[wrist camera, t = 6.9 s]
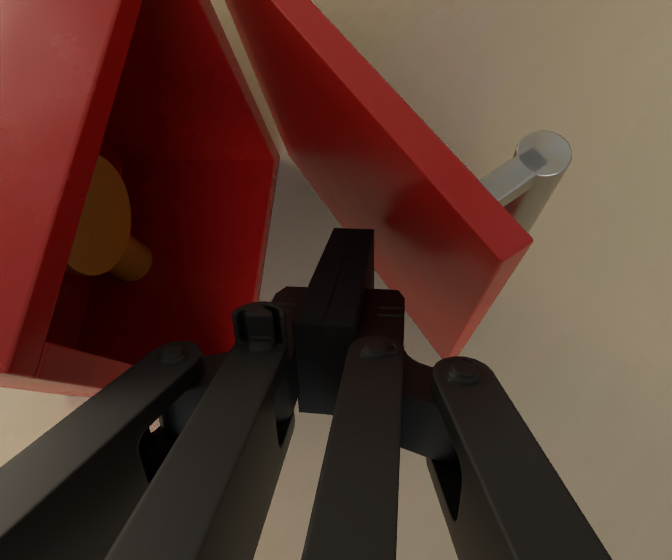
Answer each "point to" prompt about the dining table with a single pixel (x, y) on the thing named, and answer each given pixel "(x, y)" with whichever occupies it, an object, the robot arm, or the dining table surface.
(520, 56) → the dining table surface
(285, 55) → the door
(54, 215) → the cabinet
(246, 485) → the robot arm
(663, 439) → the dining table surface
